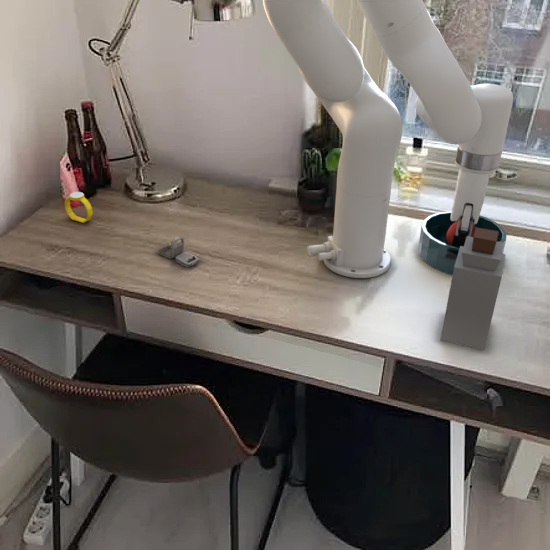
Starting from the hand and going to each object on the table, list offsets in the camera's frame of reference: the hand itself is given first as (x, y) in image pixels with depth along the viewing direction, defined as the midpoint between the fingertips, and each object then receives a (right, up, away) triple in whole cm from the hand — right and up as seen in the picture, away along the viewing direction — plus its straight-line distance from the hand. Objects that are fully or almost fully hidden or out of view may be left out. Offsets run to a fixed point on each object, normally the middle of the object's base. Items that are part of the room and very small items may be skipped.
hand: (460, 245), depth 123 cm
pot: (0, -2, +1) cm, 2 cm away
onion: (0, -2, +1) cm, 2 cm away
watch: (-76, +5, +10) cm, 77 cm away
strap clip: (-54, -3, -1) cm, 54 cm away
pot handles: (0, +2, -1) cm, 2 cm away
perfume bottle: (-5, -15, -20) cm, 25 cm away
